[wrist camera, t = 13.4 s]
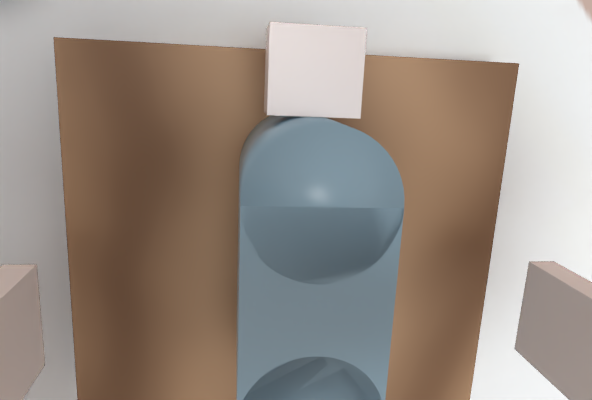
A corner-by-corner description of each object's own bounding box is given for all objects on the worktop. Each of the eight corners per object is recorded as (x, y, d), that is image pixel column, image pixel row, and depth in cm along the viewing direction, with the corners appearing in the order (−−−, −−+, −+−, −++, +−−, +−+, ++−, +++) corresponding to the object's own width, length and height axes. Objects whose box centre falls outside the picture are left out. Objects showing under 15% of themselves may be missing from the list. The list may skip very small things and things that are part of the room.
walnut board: (93, 385, 21) (78, 416, 19) (73, 42, 17) (53, 37, 15) (449, 374, 23) (469, 401, 21) (491, 65, 19) (519, 63, 17)
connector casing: (235, 365, 19) (235, 489, 13) (241, 34, 16) (243, 7, 10) (335, 362, 19) (377, 481, 14) (358, 41, 17) (423, 19, 11)
